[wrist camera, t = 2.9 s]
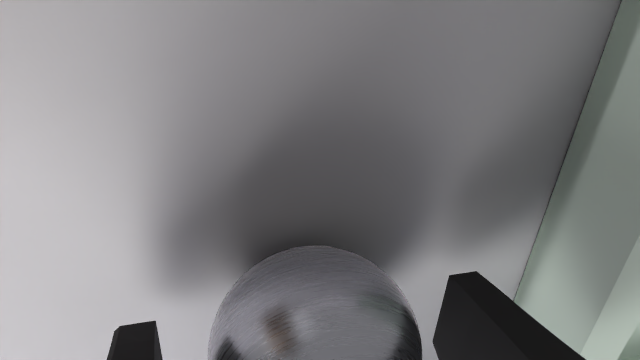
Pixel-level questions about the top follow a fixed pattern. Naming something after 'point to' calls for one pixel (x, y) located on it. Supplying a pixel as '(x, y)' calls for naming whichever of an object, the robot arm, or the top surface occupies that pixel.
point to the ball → (315, 311)
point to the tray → (596, 215)
